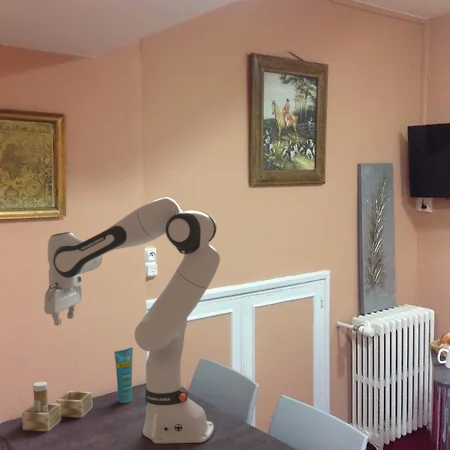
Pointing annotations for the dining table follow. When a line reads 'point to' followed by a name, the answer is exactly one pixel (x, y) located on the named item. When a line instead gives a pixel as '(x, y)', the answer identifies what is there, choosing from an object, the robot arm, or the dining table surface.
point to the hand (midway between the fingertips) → (64, 321)
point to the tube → (124, 374)
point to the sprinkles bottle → (40, 397)
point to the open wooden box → (75, 403)
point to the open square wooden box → (41, 418)
